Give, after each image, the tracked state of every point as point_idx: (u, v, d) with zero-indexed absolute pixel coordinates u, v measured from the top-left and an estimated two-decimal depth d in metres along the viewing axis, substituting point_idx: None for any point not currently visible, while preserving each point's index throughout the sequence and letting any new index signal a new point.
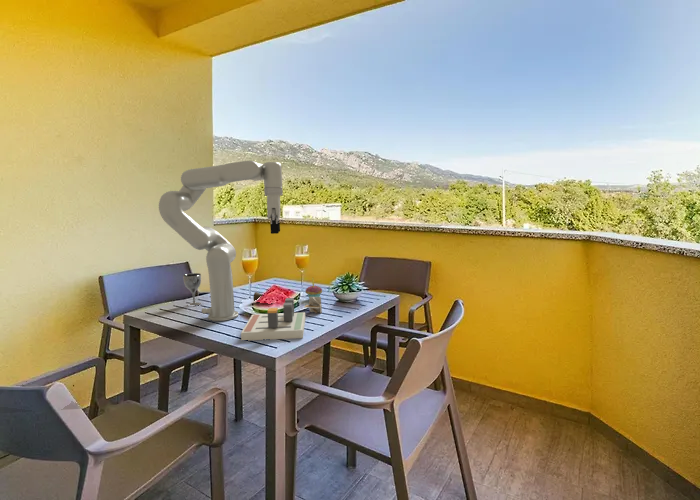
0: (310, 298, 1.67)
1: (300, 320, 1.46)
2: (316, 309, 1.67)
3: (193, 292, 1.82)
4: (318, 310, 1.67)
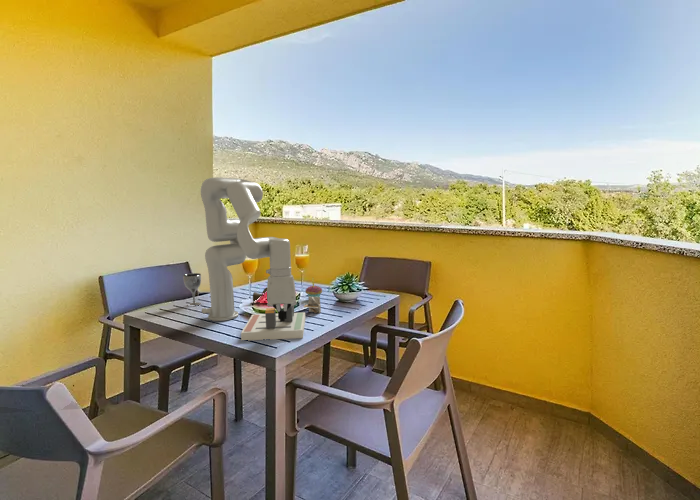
0: (309, 298, 1.67)
1: (300, 320, 1.46)
2: (315, 309, 1.67)
3: (193, 292, 1.82)
4: (317, 310, 1.67)
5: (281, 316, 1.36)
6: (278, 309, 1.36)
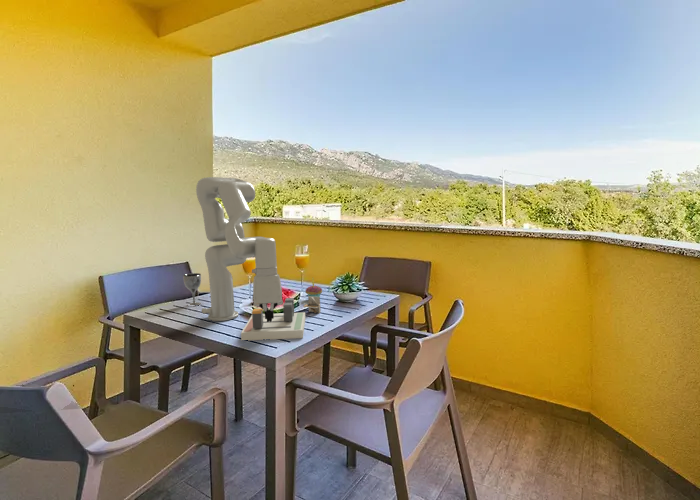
0: (309, 298, 1.67)
1: (300, 320, 1.46)
2: None
3: (193, 292, 1.82)
4: (317, 310, 1.67)
5: (268, 316, 1.36)
6: (265, 309, 1.36)
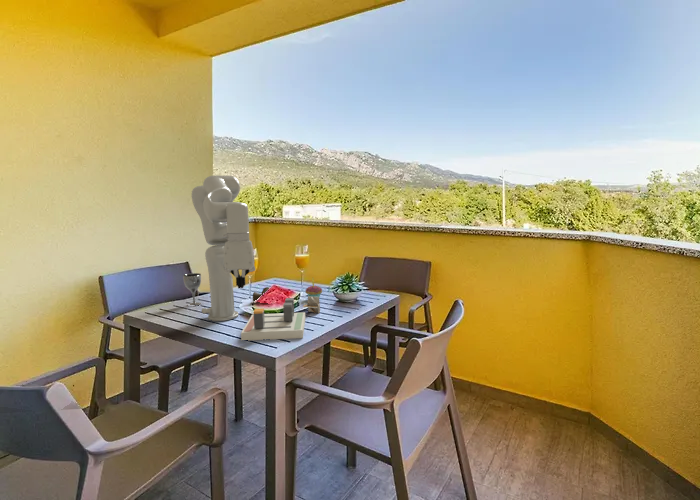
0: (309, 298, 1.67)
1: (300, 320, 1.46)
2: (314, 309, 1.67)
3: (193, 292, 1.82)
4: (316, 310, 1.67)
5: (239, 282, 1.34)
6: (236, 275, 1.34)
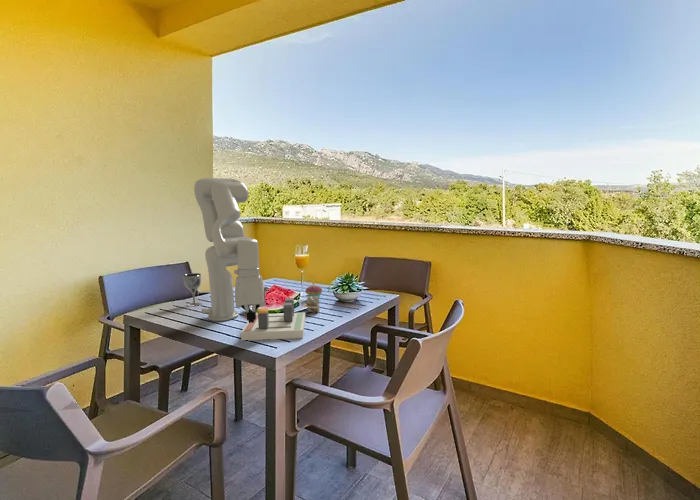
0: (308, 298, 1.68)
1: (300, 320, 1.46)
2: None
3: (193, 292, 1.82)
4: (316, 310, 1.67)
5: (249, 317, 1.35)
6: (246, 310, 1.35)
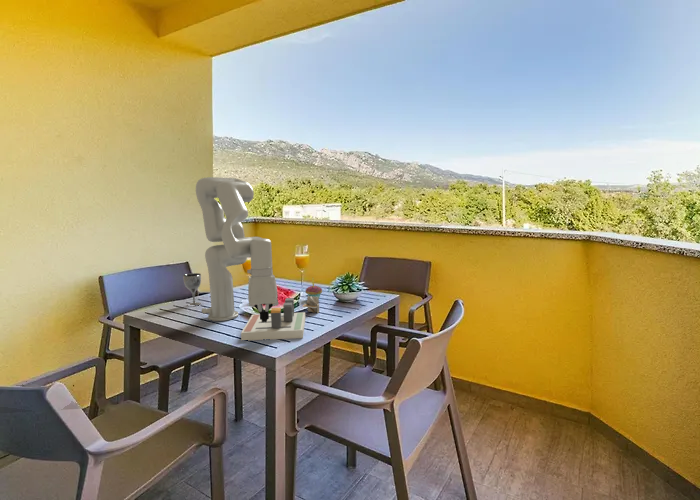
0: (308, 297, 1.68)
1: (300, 320, 1.46)
2: (314, 309, 1.68)
3: (193, 292, 1.82)
4: (316, 310, 1.67)
5: (262, 316, 1.36)
6: (259, 309, 1.36)
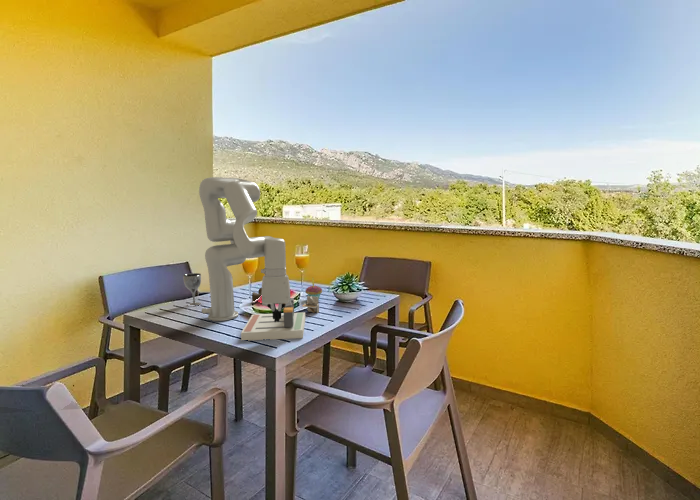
0: (308, 297, 1.68)
1: (300, 320, 1.46)
2: (314, 309, 1.68)
3: (193, 292, 1.82)
4: (315, 310, 1.67)
5: (275, 316, 1.36)
6: (272, 309, 1.36)
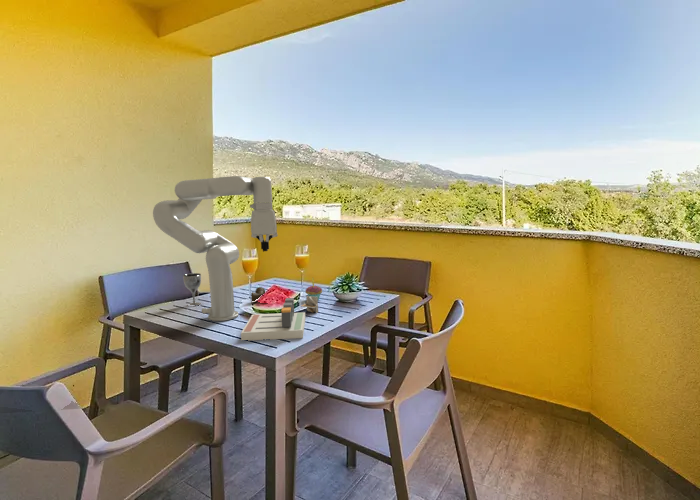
0: (307, 297, 1.68)
1: (300, 320, 1.46)
2: (313, 309, 1.68)
3: (193, 292, 1.82)
4: (315, 310, 1.68)
5: (263, 246, 1.54)
6: (261, 240, 1.54)
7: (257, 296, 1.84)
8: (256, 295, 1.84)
